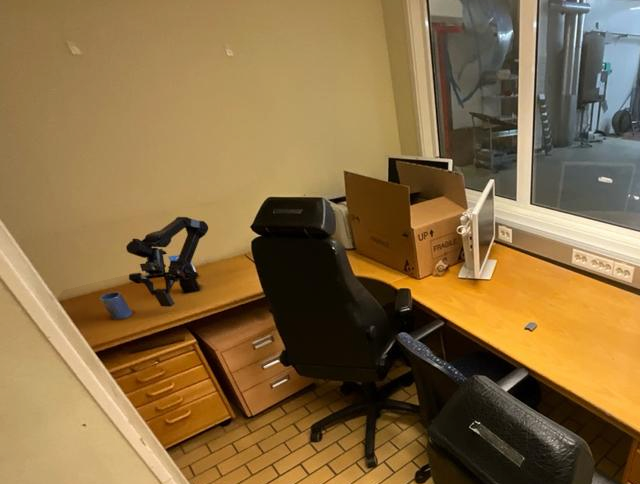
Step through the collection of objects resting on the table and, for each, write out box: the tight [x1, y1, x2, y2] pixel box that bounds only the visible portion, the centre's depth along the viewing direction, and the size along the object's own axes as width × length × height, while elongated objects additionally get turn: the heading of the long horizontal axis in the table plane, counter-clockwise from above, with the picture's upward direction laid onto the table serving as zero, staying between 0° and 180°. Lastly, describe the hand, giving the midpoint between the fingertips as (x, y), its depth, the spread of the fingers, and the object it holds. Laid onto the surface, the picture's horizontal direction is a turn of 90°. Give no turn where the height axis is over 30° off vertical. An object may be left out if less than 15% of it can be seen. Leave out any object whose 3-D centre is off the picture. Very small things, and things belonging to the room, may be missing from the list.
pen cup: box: [99, 291, 133, 320], centre depth 173 cm, size 7×7×10 cm
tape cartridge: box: [167, 254, 199, 282], centre depth 203 cm, size 9×4×12 cm, turn 119°
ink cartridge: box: [153, 288, 176, 308], centre depth 176 cm, size 5×2×8 cm, turn 89°
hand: (160, 294), depth 173 cm, fingers closed on ink cartridge, 5 cm apart
